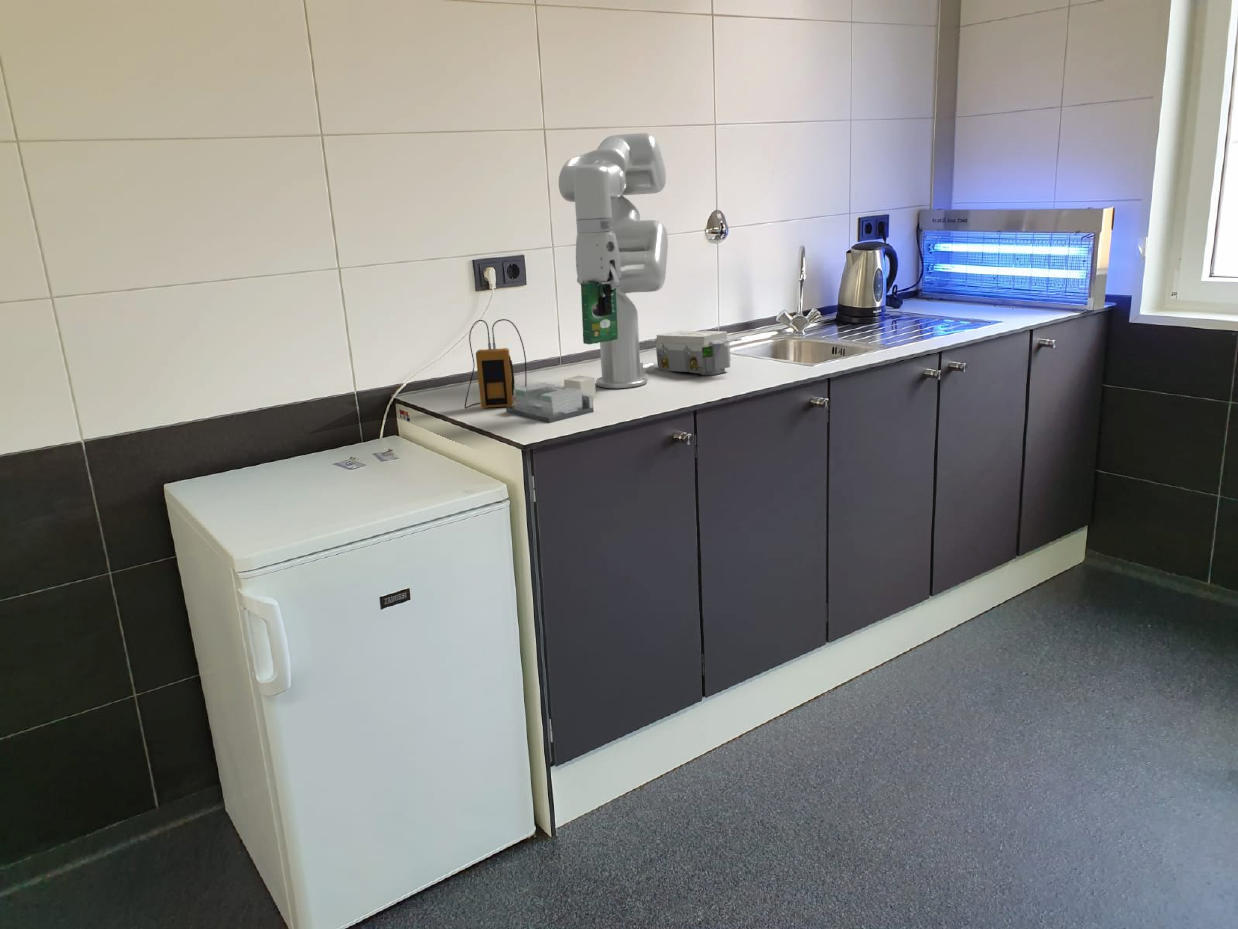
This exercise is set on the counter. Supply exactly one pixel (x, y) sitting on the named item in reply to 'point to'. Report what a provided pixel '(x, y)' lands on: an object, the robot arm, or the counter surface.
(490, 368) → the multimeter
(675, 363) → the grey electrical enclosure
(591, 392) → the block
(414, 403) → the counter surface
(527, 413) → the rail base
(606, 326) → the coffee box
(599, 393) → the counter surface
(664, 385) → the counter surface
